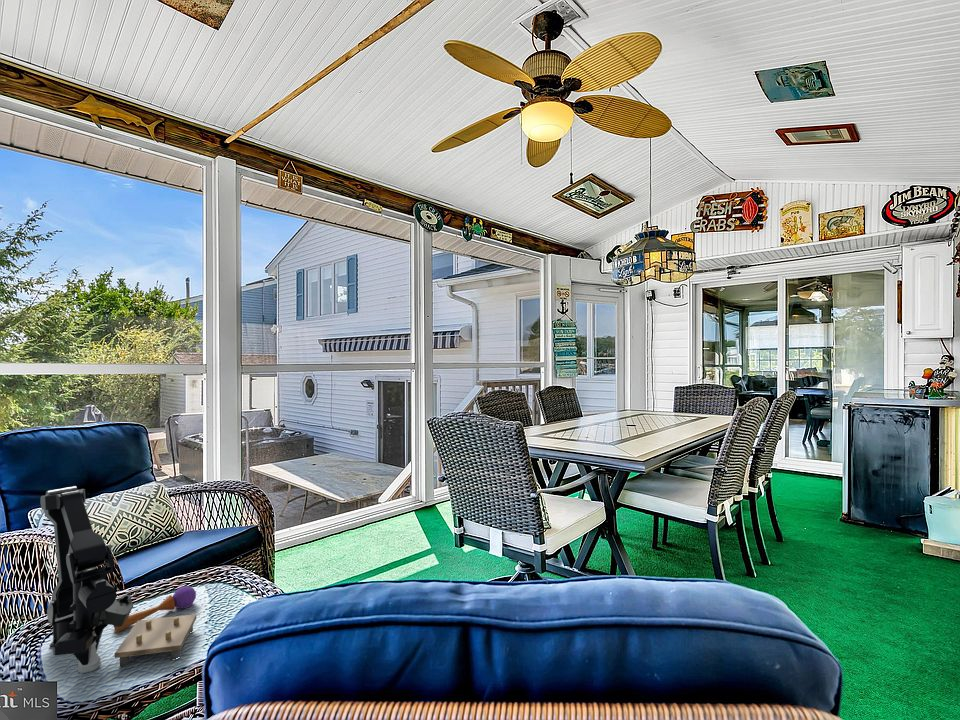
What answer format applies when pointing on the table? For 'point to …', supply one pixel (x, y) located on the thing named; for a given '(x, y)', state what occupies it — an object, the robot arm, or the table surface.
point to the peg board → (156, 637)
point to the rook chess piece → (91, 660)
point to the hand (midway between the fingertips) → (89, 659)
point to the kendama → (164, 606)
